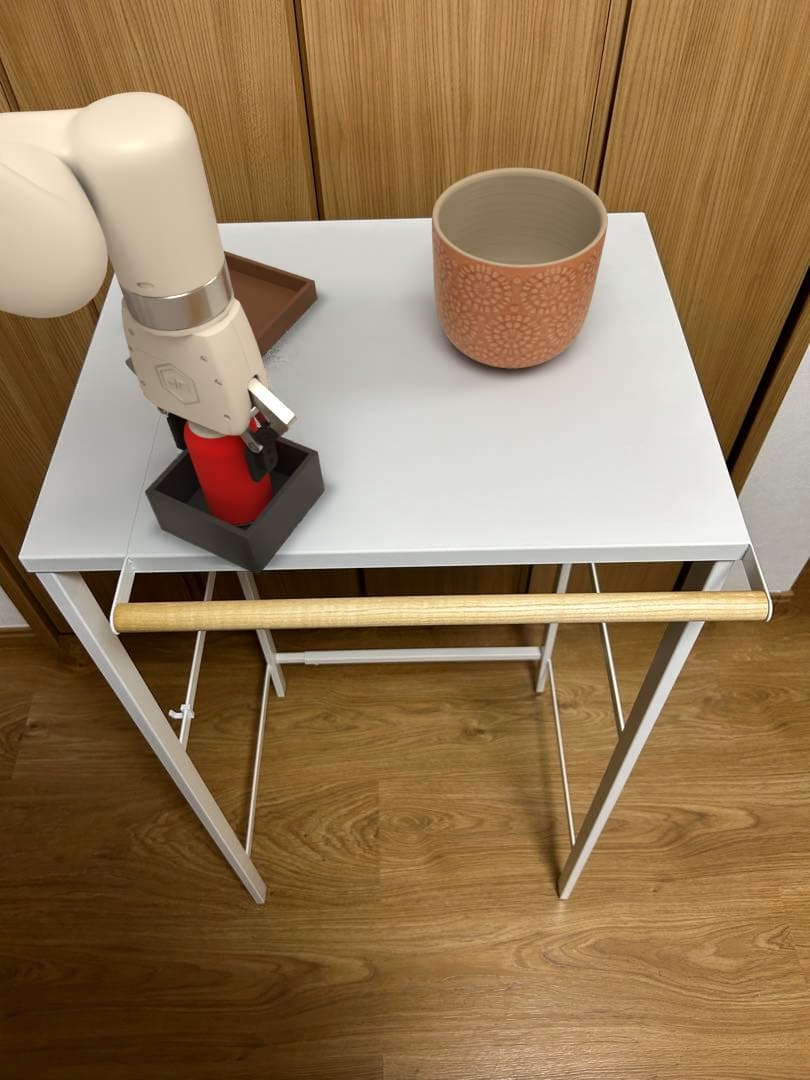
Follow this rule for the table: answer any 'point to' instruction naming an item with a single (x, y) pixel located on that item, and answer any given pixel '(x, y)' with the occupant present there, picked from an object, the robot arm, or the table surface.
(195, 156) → the robot arm
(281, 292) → the tray
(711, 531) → the table surface
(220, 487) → the beverage can
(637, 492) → the table surface
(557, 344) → the planter
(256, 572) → the bin
